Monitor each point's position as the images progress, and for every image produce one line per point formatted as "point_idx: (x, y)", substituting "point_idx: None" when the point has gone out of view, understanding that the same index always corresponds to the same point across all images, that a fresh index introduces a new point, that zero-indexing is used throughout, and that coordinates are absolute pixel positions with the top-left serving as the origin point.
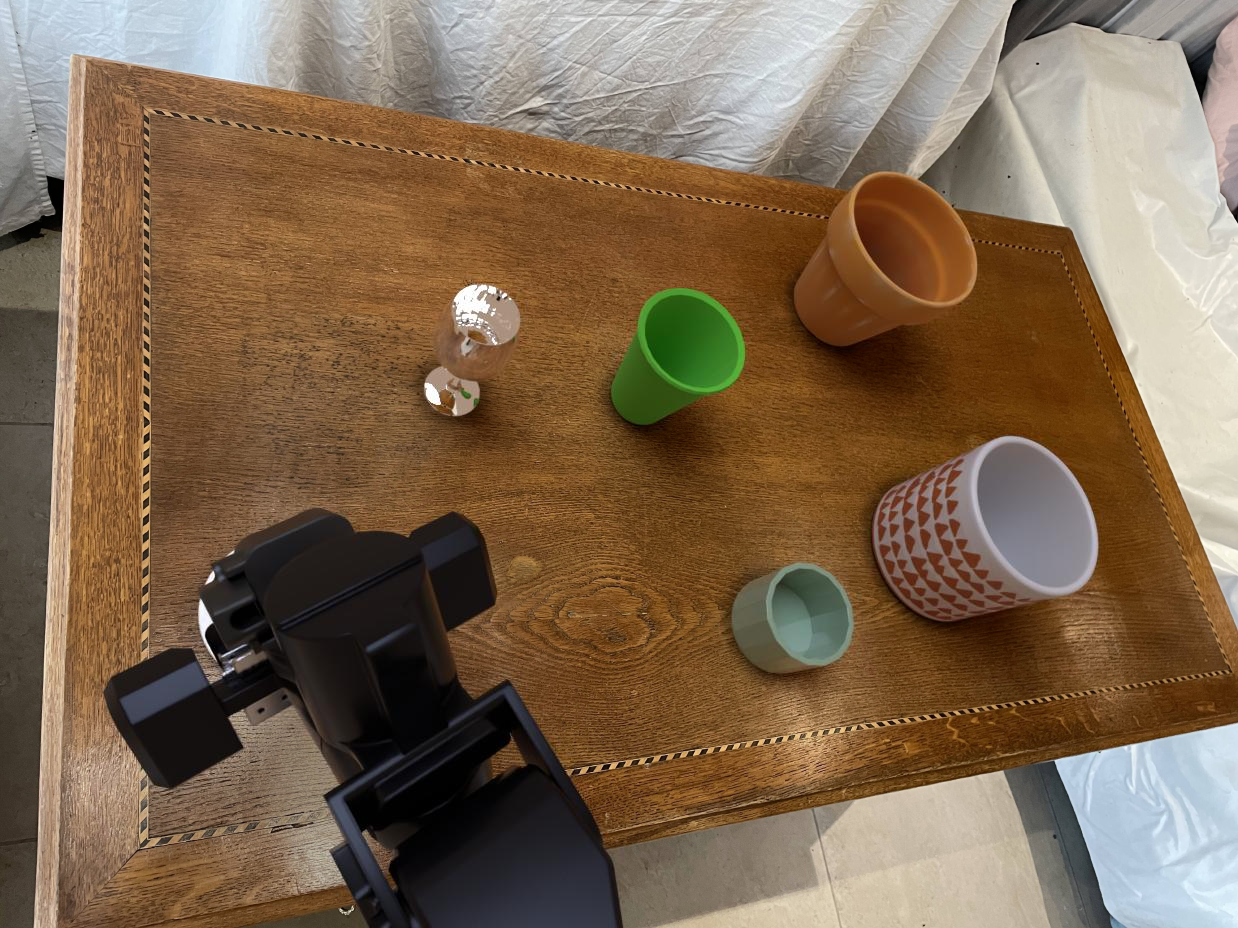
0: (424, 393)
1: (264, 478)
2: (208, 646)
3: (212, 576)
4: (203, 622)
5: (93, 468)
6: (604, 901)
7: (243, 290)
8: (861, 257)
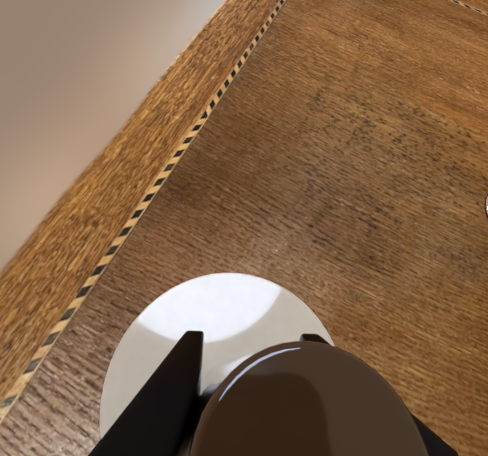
0: (485, 205)
1: (282, 213)
2: (104, 395)
3: (168, 294)
4: (121, 353)
5: (137, 131)
6: None
7: (336, 57)
8: None
